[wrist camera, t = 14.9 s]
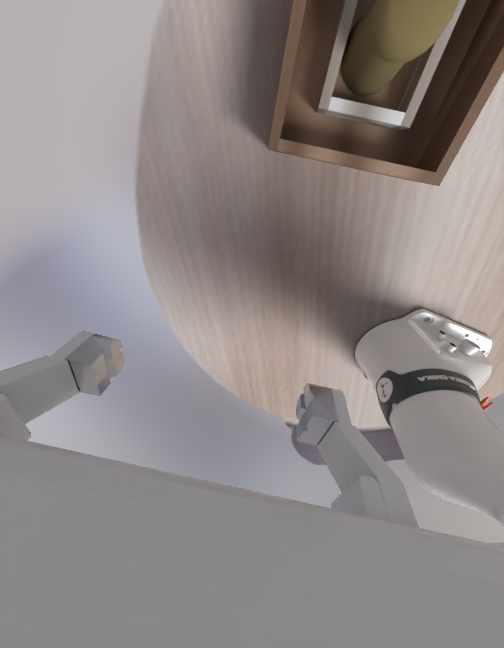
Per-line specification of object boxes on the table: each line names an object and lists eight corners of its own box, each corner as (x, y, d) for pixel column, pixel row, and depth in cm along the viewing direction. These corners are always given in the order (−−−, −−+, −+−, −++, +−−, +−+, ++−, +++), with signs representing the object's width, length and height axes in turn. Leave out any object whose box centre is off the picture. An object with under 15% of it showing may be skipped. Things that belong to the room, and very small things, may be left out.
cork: (329, 82, 25) (355, 41, 16) (363, -6, 22) (419, -123, 13) (380, 106, 26) (432, 78, 17) (421, 23, 22) (513, -68, 13)
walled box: (533, -72, 19) (637, -167, 14) (409, 180, 30) (439, 185, 24) (319, -121, 19) (334, -238, 13) (270, 150, 30) (267, 148, 24)
